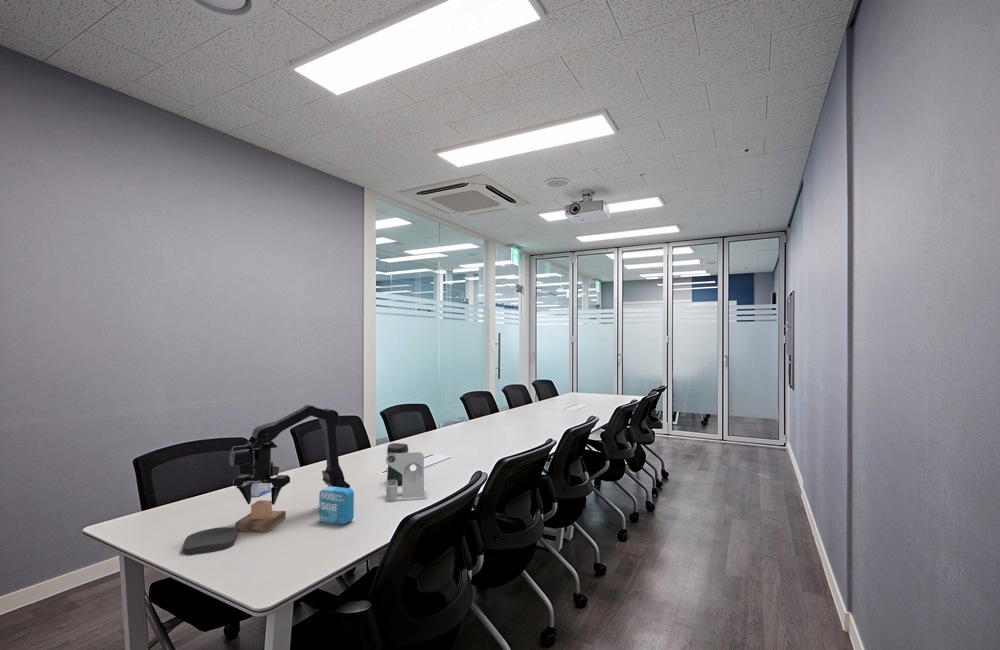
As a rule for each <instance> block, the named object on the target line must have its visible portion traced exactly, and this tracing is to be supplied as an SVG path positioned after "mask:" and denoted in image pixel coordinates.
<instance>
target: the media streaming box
mask: <svg viewBox="0 0 1000 650" xmlns="http://www.w3.org/2000/svg"><path fill="white" fill-rule="evenodd" d="M237 536H238V531H237V529H236V528H235V527H231V526H230V527H229V526H225V527H224V526H222V527H214V528H208V529H203V530H199V531H197V532H193V533H192V534H189V535H188V536H187V537H186V538H185V539H184V541H183V544H182V554H184V555H187V556H191V555H198V554H204V553H212V552H217V551H222V550H227V549H230V548H232V547H233V546H234V545H235V543H236V541H237V538H238V537H237Z"/></svg>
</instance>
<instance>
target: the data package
mask: <svg viewBox="0 0 1000 650" xmlns="http://www.w3.org/2000/svg"><path fill="white" fill-rule="evenodd" d="M318 495H319V497H318V498H319V501H318V503H319V505H318V513H319V514H318V519H319V521H320V522H321V523H326V524H334V525H343V526H345V525H346V524H348V523H350V522H351V521H353V520H354V511H355V510H354V507H355V505H354V504H355V503H354V502H355V501H354V500H355V499H354V498H355V491H354V490H353V488H351V487H350V488H341V487H331V486H329V487H328V486H327V487H325V488H323V489H321V490H320V491H319V494H318Z"/></svg>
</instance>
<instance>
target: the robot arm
mask: <svg viewBox="0 0 1000 650" xmlns="http://www.w3.org/2000/svg"><path fill="white" fill-rule="evenodd" d="M309 417H313V418H317V419H318V421H319V425H320V427H321V429H322V431H323V437H324V447H325V448H324V449H325V450H324V451H325V460H326V468H325V470H322V471H321V473H322V481H323V482H324V484H325V485H326V486H327V487H329V486H331V487H341V488H350V489H351V485H350V484H349V483H348V481H346V479H345V476H344V472H343V470H342V468H341V466H340V462H339V461H340V460H339V450H338V439H337V429H338V426H339V419H340V415H339V412H338V411H336V410H334V409H330V408H323V409H322V408H318V407H315V406H314V405H310V404H305V405H304V406H303V407H301V408H299V409H297V410H295V411H293V412H292V413H289V414H287V415H286V416H283V417H281V418H279V419H277V420H276V421H273V422H269V423H265V424H262V425H259V426H256V427H255V428H254V429H253V431H252V435H251V436H250V437H249V439H248V440H247V442H246V443H245V444H244V445H233V446H231V451H230V454H229V455H228V456H229V457H228V458H229V464H230V466H231V467H237V466H243V465H249V464H251V462H253V465H251V468H250V469H251V470H253V473H252V474H248V473H246V474H243V473H242V474H240V475H238V476H235V477H234V479H233V480H232V486H233V487H236V489H238V490H239V491H240V493H241V494H242V496H243V498H244V499H245V502H246V503H247V505H251V502H252V496H251V487H252V484H253V483H271V491H270V493H271V494H270V495H271V501H272V506H274V505H275V504H276V502H277V499H278V496H279V494H280V492H281V490H282V488H284V487H285V486H286V485H288V484H290V483H291V477H290V476H289V475H288V474H279V472H280V467H279V466H275V465H274V462H273V461H272V449H275V448H278V445H277V444H276V443H275V442H274V441H273V440H275V439H276V438H277V437H278V436H279V435H280V434H281V433H282V432H283V431H285V430H287V429H289V428H291V427H293V426H295V425H296V424H298V423H300V422H302V421H304V420H306V419H308V418H309ZM252 476H253V477H252ZM259 480H260V481H259ZM264 480H267V481H264Z"/></svg>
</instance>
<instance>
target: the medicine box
mask: <svg viewBox="0 0 1000 650" xmlns="http://www.w3.org/2000/svg"><path fill="white" fill-rule="evenodd" d="M252 477H253V475H252ZM259 481H260V480H259ZM264 481H267V480H264ZM271 488H272V483H253V484H252V487H251V497H261V496H263V494H264V495H266V494H267V493H271Z"/></svg>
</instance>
